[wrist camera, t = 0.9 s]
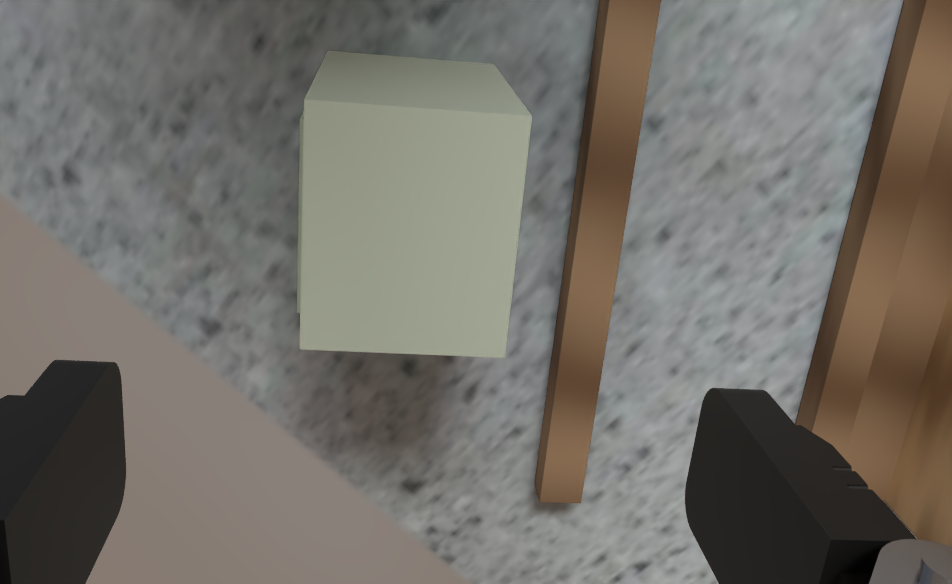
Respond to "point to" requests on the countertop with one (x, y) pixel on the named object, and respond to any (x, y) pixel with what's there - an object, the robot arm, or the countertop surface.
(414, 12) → the countertop surface
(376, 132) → the pale green box
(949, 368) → the brown wooden rack
